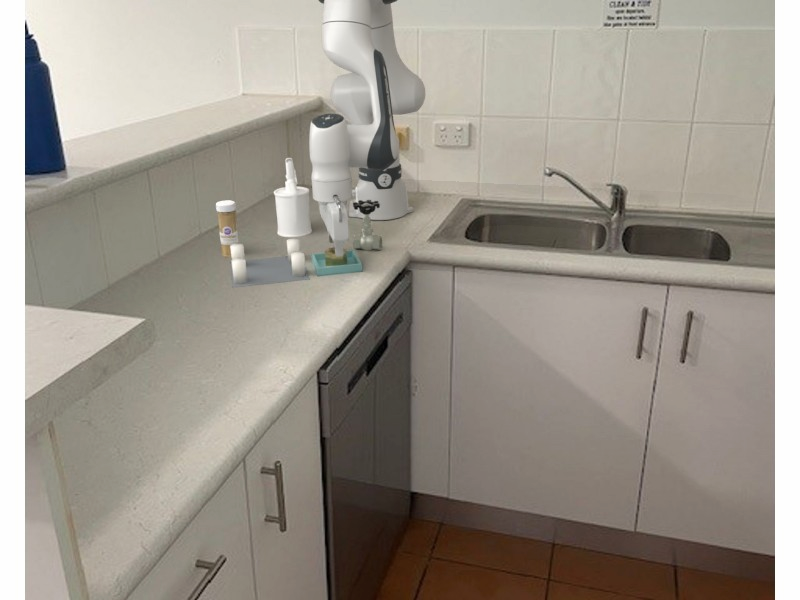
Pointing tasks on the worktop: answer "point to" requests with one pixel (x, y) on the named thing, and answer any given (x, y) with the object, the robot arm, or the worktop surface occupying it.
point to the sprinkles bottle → (227, 225)
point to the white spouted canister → (292, 206)
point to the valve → (367, 227)
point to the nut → (335, 258)
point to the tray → (323, 270)
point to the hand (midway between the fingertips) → (335, 248)
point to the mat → (268, 271)
